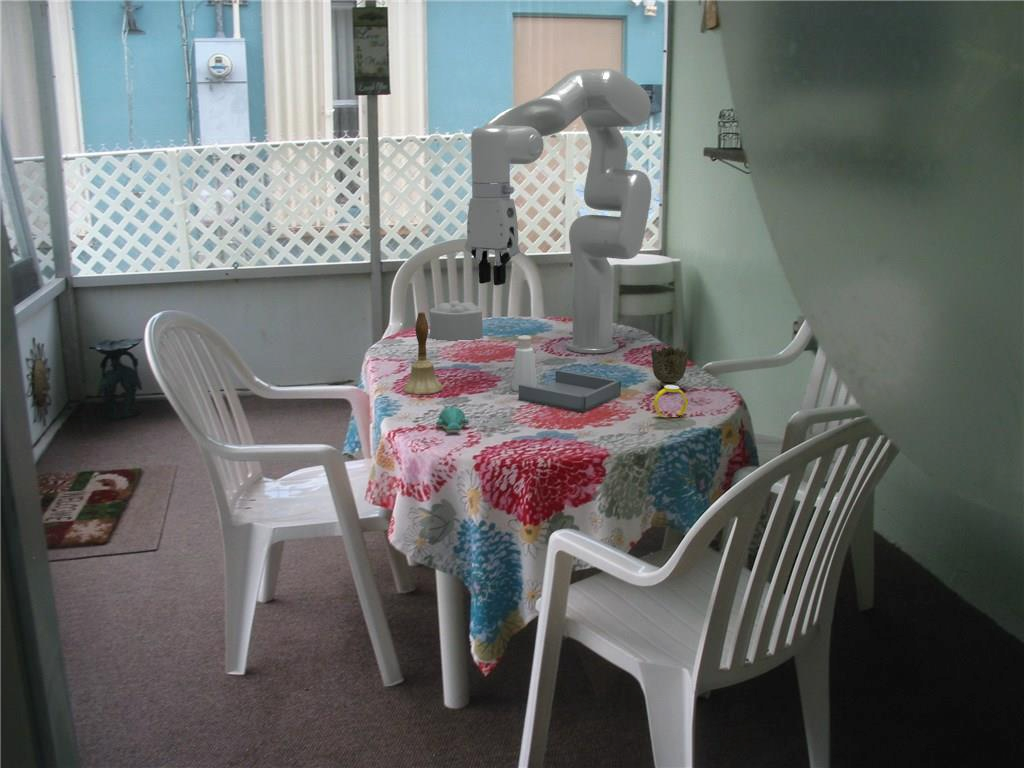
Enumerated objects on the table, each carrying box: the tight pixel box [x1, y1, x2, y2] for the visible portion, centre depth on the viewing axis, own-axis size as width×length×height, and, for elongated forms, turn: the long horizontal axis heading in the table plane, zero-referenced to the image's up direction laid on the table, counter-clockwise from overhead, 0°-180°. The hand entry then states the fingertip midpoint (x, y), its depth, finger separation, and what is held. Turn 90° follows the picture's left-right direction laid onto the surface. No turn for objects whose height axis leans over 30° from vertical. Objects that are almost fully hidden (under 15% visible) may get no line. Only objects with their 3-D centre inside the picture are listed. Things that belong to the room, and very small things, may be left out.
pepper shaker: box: [511, 334, 538, 393], centre depth 190 cm, size 5×5×11 cm
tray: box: [518, 369, 622, 414], centre depth 185 cm, size 14×15×3 cm
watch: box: [653, 385, 688, 418], centre depth 172 cm, size 6×3×6 cm, turn 95°
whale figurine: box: [435, 406, 470, 434], centre depth 167 cm, size 6×7×4 cm
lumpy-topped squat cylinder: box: [429, 300, 483, 342], centre depth 237 cm, size 10×13×9 cm
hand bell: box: [402, 311, 445, 395], centre depth 190 cm, size 8×8×16 cm
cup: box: [650, 345, 689, 389], centre depth 190 cm, size 8×7×8 cm
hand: (492, 282), depth 190 cm, fingers open, 3 cm apart
